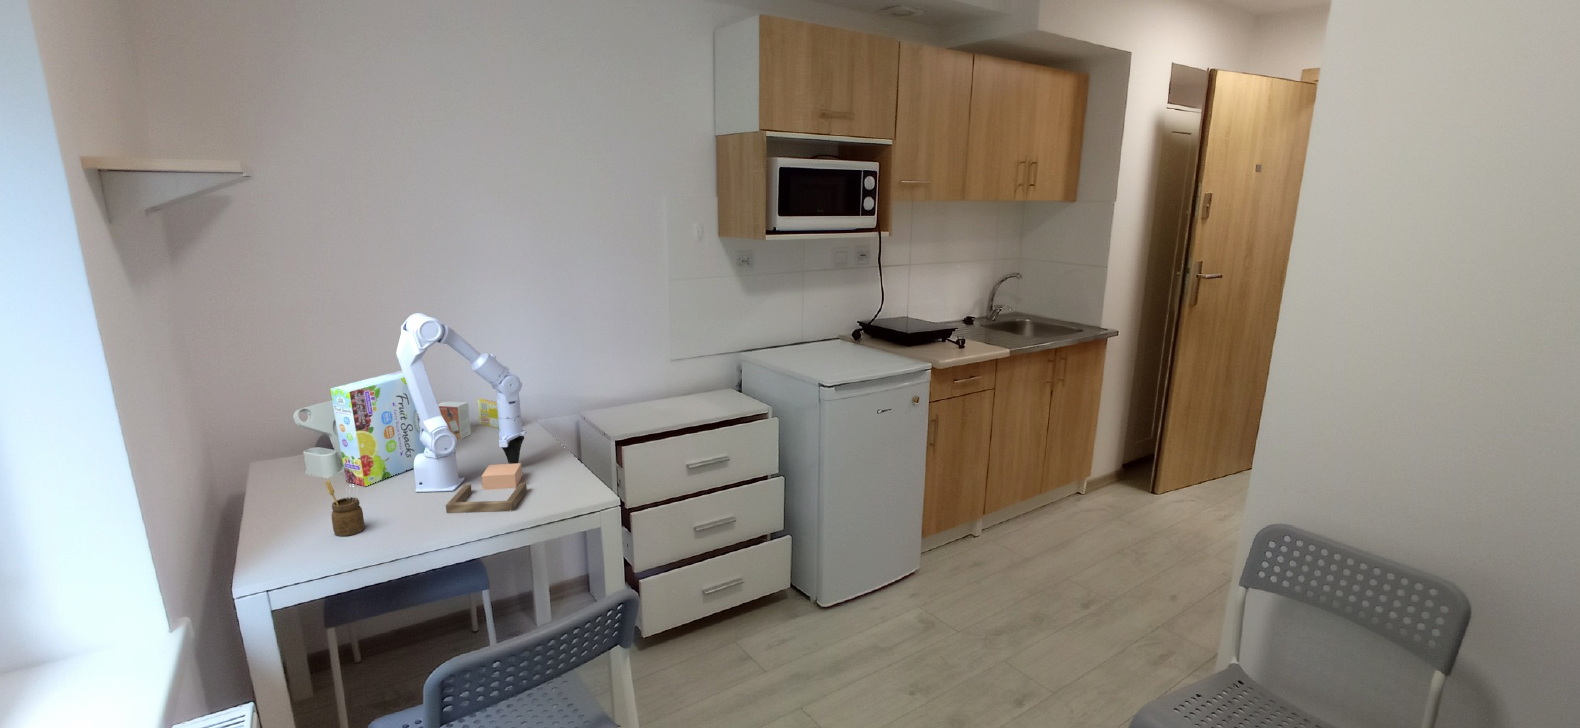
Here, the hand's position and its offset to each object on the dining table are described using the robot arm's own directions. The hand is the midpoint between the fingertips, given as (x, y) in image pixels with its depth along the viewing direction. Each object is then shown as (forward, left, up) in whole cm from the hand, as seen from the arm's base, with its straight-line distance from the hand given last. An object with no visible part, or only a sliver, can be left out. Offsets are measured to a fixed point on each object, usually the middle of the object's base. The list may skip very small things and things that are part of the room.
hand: (513, 464), depth 199 cm
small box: (-26, +30, -2) cm, 40 cm away
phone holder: (-47, +6, -2) cm, 48 cm away
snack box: (-32, +1, -2) cm, 33 cm away
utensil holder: (-25, -36, -2) cm, 44 cm away
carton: (0, -10, -2) cm, 10 cm away
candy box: (-16, +39, -2) cm, 42 cm away
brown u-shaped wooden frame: (0, -21, -1) cm, 21 cm away
